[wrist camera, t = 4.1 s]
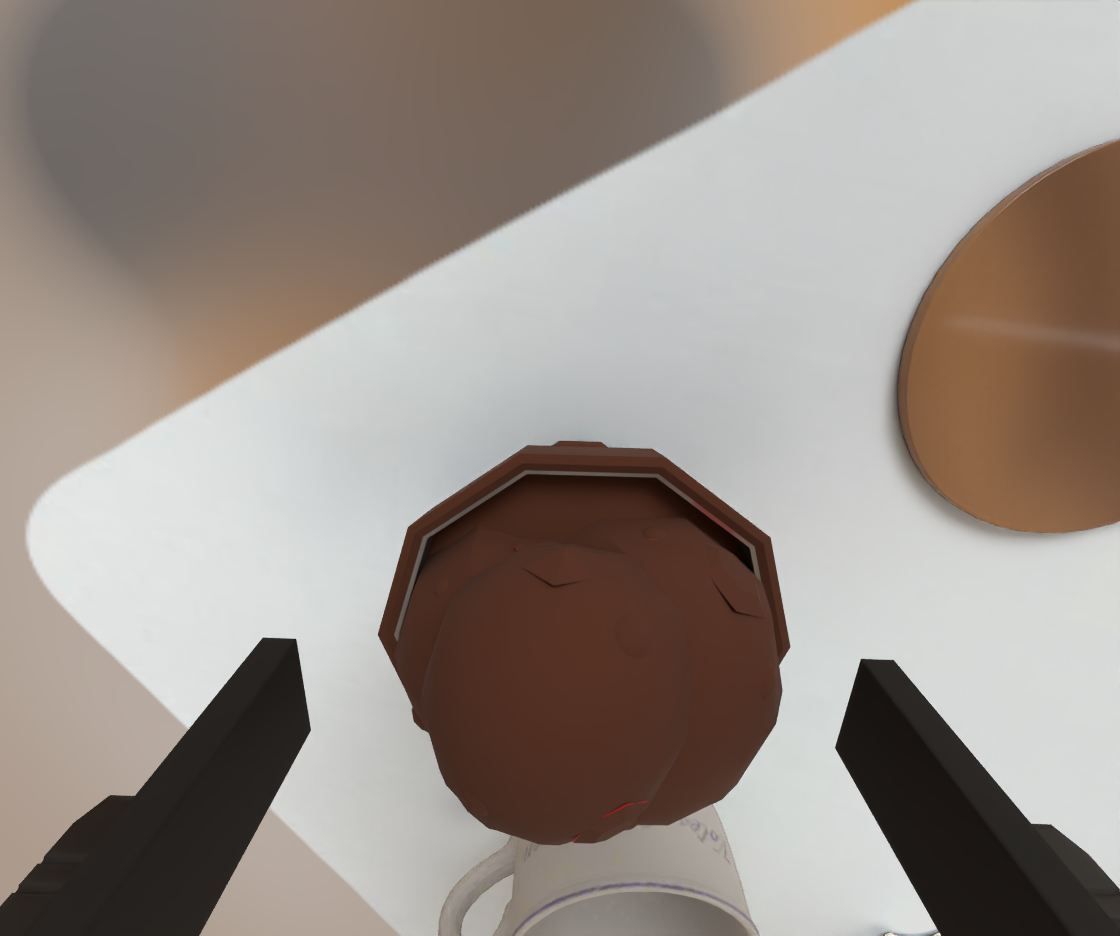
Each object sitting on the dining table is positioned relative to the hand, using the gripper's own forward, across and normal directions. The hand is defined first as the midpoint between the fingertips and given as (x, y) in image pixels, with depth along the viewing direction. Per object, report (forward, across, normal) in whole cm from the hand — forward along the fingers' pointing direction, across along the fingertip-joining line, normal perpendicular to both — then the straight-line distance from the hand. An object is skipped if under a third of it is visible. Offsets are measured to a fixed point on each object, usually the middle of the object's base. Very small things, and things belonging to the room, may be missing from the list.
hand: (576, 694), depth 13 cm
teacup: (+12, +2, -18) cm, 21 cm away
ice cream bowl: (+12, 0, 0) cm, 12 cm away
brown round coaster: (+11, +20, +7) cm, 24 cm away
